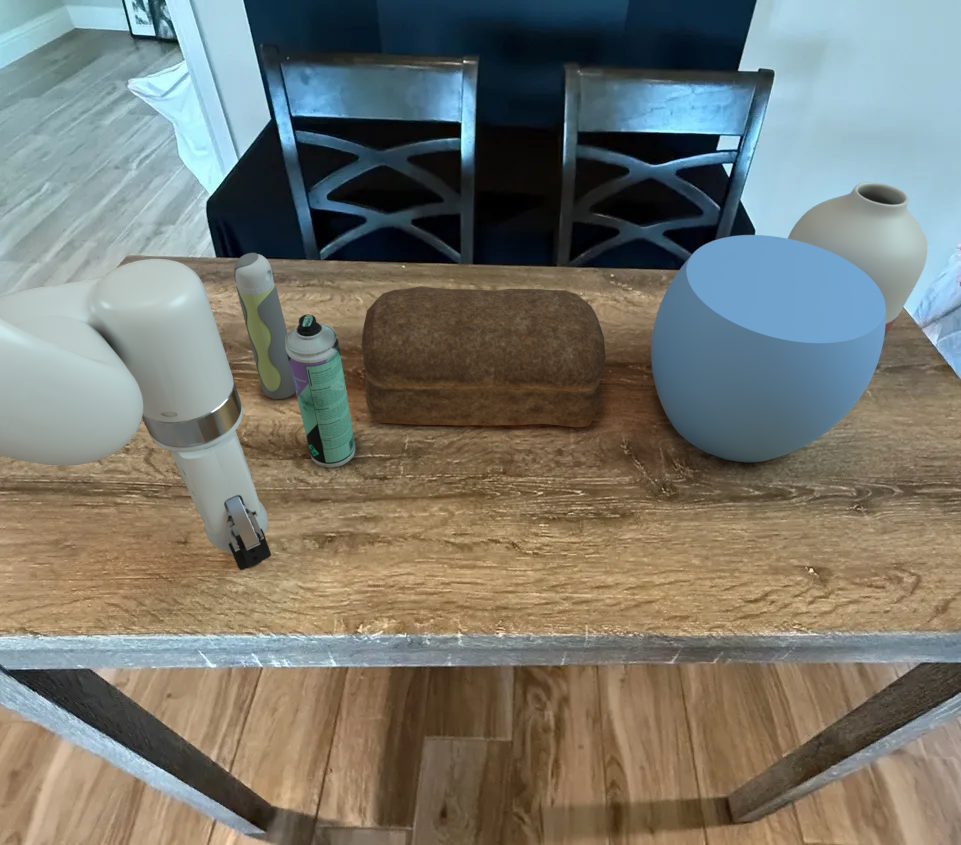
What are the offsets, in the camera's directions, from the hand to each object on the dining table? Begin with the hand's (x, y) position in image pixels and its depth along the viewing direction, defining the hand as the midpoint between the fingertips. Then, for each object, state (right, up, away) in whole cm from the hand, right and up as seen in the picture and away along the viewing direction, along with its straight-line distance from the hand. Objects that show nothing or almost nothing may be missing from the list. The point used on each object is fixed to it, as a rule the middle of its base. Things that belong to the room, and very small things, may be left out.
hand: (240, 533), depth 68 cm
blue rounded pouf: (+57, +12, +22) cm, 62 cm away
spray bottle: (-3, +15, +23) cm, 28 cm away
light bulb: (0, -4, +4) cm, 5 cm away
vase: (+73, +23, +33) cm, 84 cm away
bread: (+24, +16, +24) cm, 38 cm away
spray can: (+6, +7, +15) cm, 18 cm away
